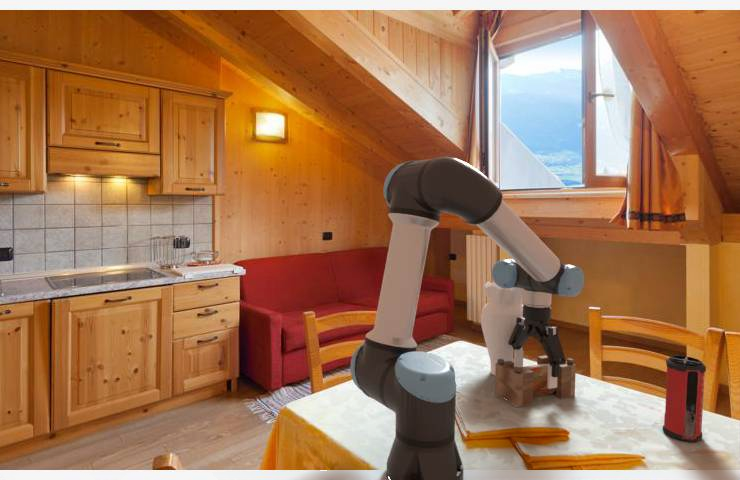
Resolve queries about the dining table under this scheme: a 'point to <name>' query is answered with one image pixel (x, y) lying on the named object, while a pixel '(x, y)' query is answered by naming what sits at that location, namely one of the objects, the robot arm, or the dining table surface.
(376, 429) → the dining table surface
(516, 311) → the vase
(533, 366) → the tin
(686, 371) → the speaker
